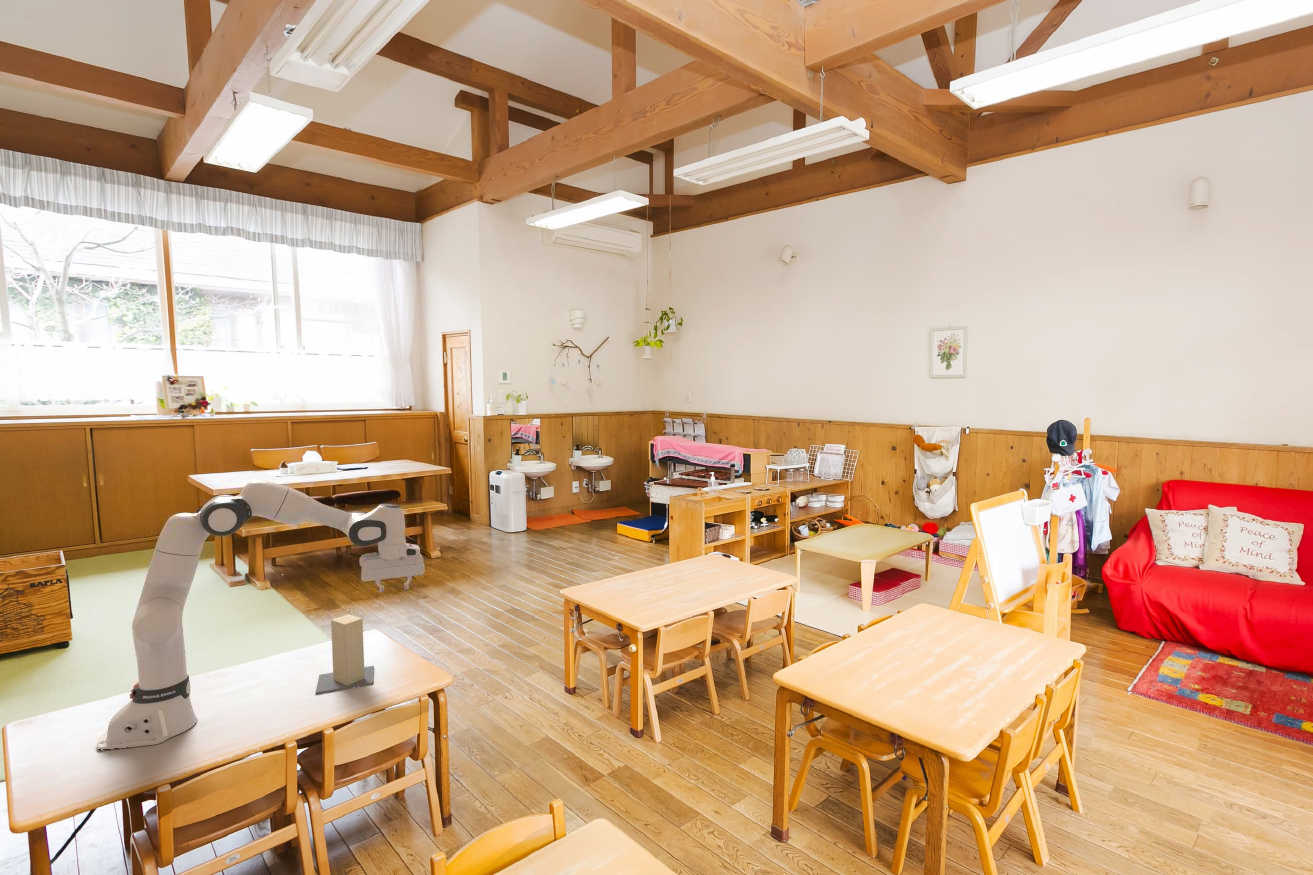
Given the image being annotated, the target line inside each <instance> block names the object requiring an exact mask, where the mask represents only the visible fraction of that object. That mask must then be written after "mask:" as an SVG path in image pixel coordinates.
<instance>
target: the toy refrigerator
mask: <svg viewBox="0 0 1313 875" xmlns="http://www.w3.org/2000/svg"><path fill="white" fill-rule="evenodd" d="M363 621H364V620H363V618H362V617H360V616H356V615H352V614H348V613H347V614H344V615H342V616H338V617H336V618H333V619H330V623H331V624H330V628H331V648H332V649H331V650H332V651H331V653H332V673H333V679H334V681H337V682H339V683H341V684H344V685H346V686H348V685H350V684H352V683H355V682H357V681H359V680H362V679H364V678H365V673H364V667H365V653H364V652H365V651H364V628H363V627H364V624H363Z"/></svg>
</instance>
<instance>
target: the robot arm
mask: <svg viewBox="0 0 1313 875" xmlns="http://www.w3.org/2000/svg"><path fill="white" fill-rule="evenodd" d="M252 517H260V518H265V519H268V520H270V521H273V522H277V523H281V524H285V525H290V526H291V525H292V526H293V525H294V526H298V525H301V524H306V523H317V524H320V525H324V526H327V527H331V528H334V529H337V530H339V531H341V532H343V533H344V535H346V536H347V537H348V539H349V540H350V542H351V543H352V544H353V545H355V546H358V547H368V546H371V545H375V544H377V548H378V549H377V550H378V551H377V552H370V553H369V552H368V553H364V554H362V555H360V556H359V560H358V562H359V566H360V567H361V575H360V578H361V581H363V582H364V583H365V582H372V581H375V584H376V586H377V587H378V588H379V593H384V592H385V585H382V584H381V580H389V579H396V578H397V579H398V578H405V577H406V578H407V580H406V582H404V583H403V585H404V586H403V588H404V590H408V589H410V583H411V581H412V579H413V576H414V577H415V576H420V575H423V574H424V573H426V567H425V562H424V557H423V555H422V554H421V548H420V546H419V545H418V544H412V543H407V539H406V536H405V532H406V521H405V519H406V518H405V514H404V510H403V508H402V507H401V506H399V505H398V504H395V503H394V504H393V503H382V504H381V503H380V504H379V505H378V506H377V507H375V508H374V509H373V510H371V511H369V512H366V511H363V510H362V511H361V510H355V511H349V510H348V511H347V510H342V509H339V508H336V507H333V506H330V505H328V504H323V503H322V502H320V501H318V500H316V499H314V498H313V497H311V496H309V495H307V494H306V493H304V492H302V491H299V490H298V489H294V488H292V487H289V486H286V485H284V484H279V483H275V482H272V481H268V480H267V481H266V480H260V479H253V480H250V481H249V482H248V483H247V484H246V485H244V486H243V488H242V489H241V491H240V492H239V494H237V495H234V494H230V493H222V494H217V495H214V496H212V497H211V498H210V499H208V500H207V501H206V502H205V503H204V504H203V505H202V506H200V507H199V509H197V510H196V512H195V513H194V512H193V513H190V512H181V513H176V514H173V515H171V516H170V517H169V518H168V519H167V520H166V522H165V524H164V525H163V528H162V529H161V532H160V534H159V537H158V539H157V541H156V544H155V547H154V550H153V554H152V557H151V560H150V563H149V567H148V569H147V573H146V577H145V581H144V583H143V586H142V590H141V594H140V597H139V599H138V603H137V607H136V610H135V614H134V616H133V621H132V624H131V631H132V638H133V645H134V650H135V657H136V664H137V674H138V681H137V682H135V684H134V685H133V687H132V689H131V690H130V693H129V699H131V700H130V701H128V703H126V704H124V706H123V707H121V708H120V709H119V710H118V711H117V712H116V713H115V714H114V715H113V716H112V718H111V719H110V721H109V723H108V726H107V730H106V731H105V732H104V733H103V734H102V735H101V736H100V738H99V739H98V741H97V743H96V745H97V746H96V748H97V747H98V749H111V750H114V749H113V748H119V749H126V748H127V747H128V748H135V747H144V746H146V747H147V746H153V745H154V746H155V745H159V744H162V743H163V742H165V741H167V740H168V739H171V738H172V737H175V736H177V735H179V734H183V733H184V732H186V731H187V730H190V729H191V728H192V727H193V726H194V725H195V724H197V722H198V717H197V715H196V713H195V711H194V708H193V705H192V702H191V696H190V694H191V681H190V676H189V674H188V673H187V671H188V670H187V669H188V668H187V658H186V657H187V656H186V649H185V648H186V647H185V639H184V630H183V628H184V627H183V613H184V609H185V606H186V602H187V599H188V596H189V593H190V589H191V586H192V585H193V581H194V578H195V576H196V572H197V568H198V565H199V561H200V557H201V555H202V552H203V547H204V545H205V542H206V540H207V538H208V537H209V536H210V535H212V536H215V537H227V536H231V535H233V534H235V533H236V532H237V531H239V530H240V529H241V528H243V527H244V525H245V524H246V523H247V522H248V521H249V520H250V519H251V518H252ZM98 749H97V750H98Z"/></svg>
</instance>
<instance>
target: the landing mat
mask: <svg viewBox="0 0 1313 875" xmlns="http://www.w3.org/2000/svg"><path fill="white" fill-rule="evenodd" d="M374 671H375V670H374V665H371V666H370V665H369V666H364V673H365V678H364V679H362V680H359V681H357V682H355V683H352V684H350V685H348V686H346V685H344V684H341V683H339V682H337V681H334V679H333V672H327V673H322V674H319V675H318V676H319V677H318V681H317V684H316V688H315V692H314V693H315V694H316V695H320V693H321V694H327V693H330V692H331V693H332V692H337V691H336V690H338V691H341V690H342V689H344V690H347V689H348V688H349V689H353V687H355V688H359V687H358V686H360V687H366V686H371V685H370V684H372V685H373V684H374ZM365 685H366V686H365ZM349 689H348V690H349ZM326 692H327V693H326Z"/></svg>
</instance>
